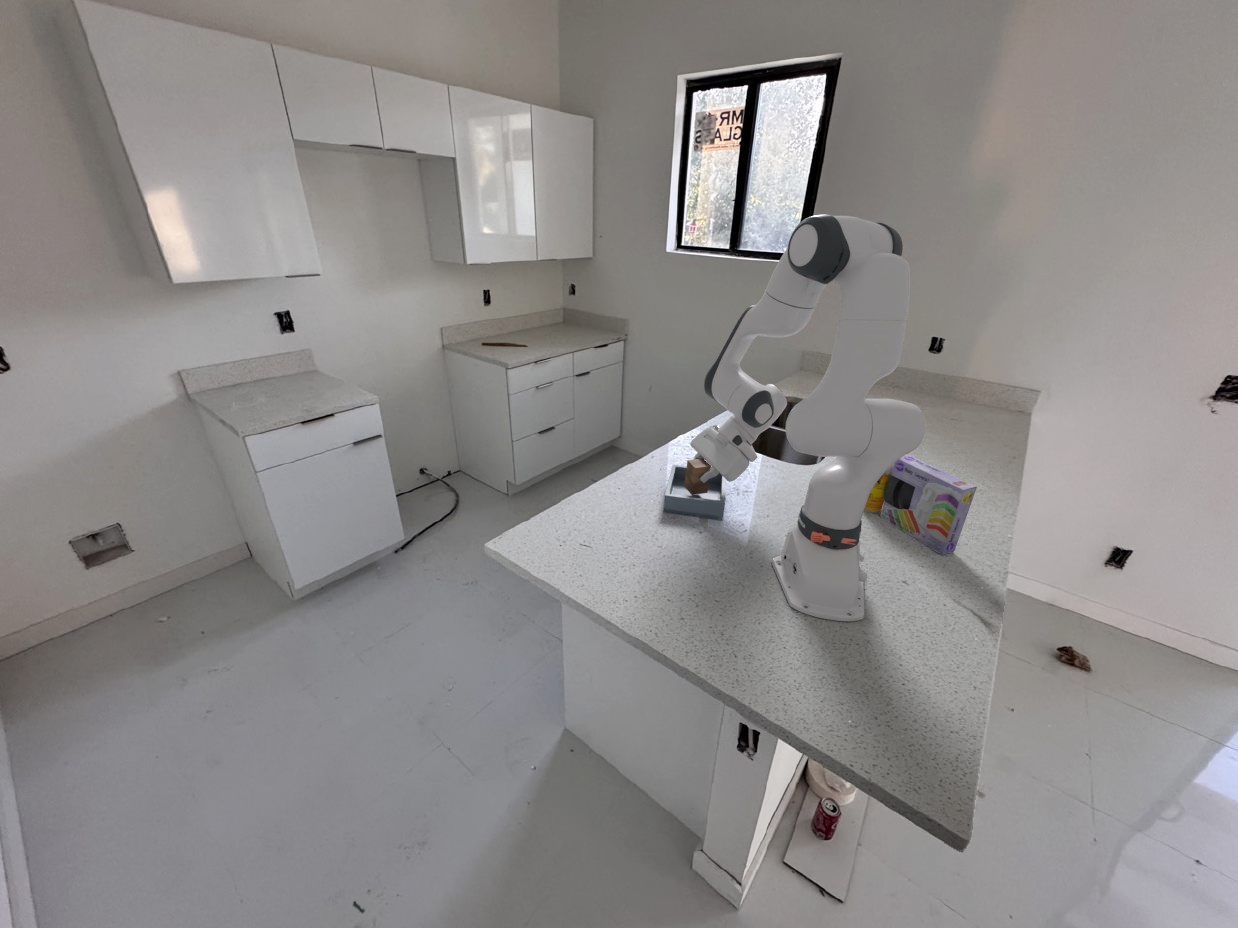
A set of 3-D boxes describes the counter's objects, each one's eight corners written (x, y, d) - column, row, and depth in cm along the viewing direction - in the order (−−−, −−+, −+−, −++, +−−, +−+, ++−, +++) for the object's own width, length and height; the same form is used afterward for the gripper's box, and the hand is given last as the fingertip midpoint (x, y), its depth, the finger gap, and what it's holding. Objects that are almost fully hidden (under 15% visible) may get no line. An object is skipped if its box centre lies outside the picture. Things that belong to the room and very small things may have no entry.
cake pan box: (874, 514, 130) (893, 453, 122) (888, 511, 132) (908, 451, 124) (939, 557, 114) (966, 490, 106) (955, 553, 116) (982, 487, 108)
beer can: (855, 509, 132) (870, 459, 125) (857, 499, 137) (871, 450, 130) (880, 516, 130) (897, 464, 123) (881, 505, 134) (897, 456, 128)
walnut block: (707, 492, 132) (711, 466, 128) (691, 495, 130) (695, 467, 127) (699, 484, 135) (703, 458, 132) (684, 486, 134) (687, 460, 130)
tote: (722, 520, 125) (725, 503, 122) (663, 512, 127) (664, 495, 125) (723, 487, 141) (726, 471, 138) (671, 480, 143) (672, 464, 141)
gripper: (708, 416, 136) (672, 451, 138) (748, 446, 119) (706, 486, 120) (720, 429, 139) (685, 464, 141) (761, 461, 122) (720, 500, 124)
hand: (695, 475), depth 131 cm, fingers closed on walnut block, 5 cm apart
